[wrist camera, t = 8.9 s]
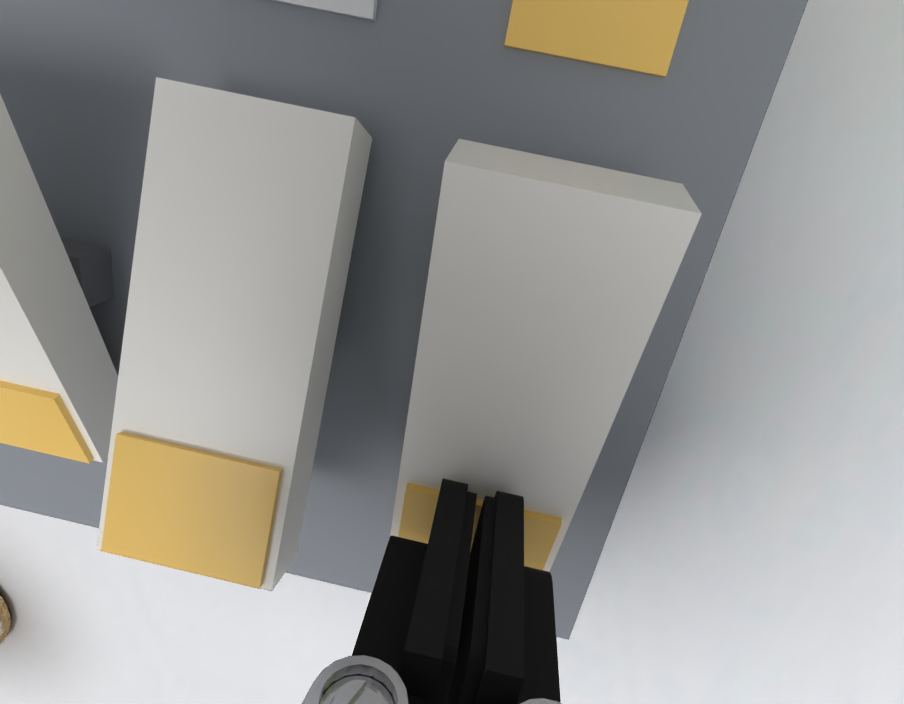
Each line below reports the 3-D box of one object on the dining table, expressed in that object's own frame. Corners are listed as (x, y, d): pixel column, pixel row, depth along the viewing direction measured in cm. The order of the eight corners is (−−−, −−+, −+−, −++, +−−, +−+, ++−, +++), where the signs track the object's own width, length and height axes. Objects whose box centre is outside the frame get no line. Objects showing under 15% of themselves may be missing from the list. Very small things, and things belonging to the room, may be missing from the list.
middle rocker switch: (197, 101, 11) (150, 74, 10) (372, 137, 11) (352, 115, 9) (140, 519, 12) (90, 553, 11) (296, 555, 12) (268, 595, 11)
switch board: (-44, -141, 12) (-234, -230, 9) (759, 10, 12) (845, -31, 9) (35, 453, 19) (-63, 519, 16) (563, 576, 18) (571, 671, 15)
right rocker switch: (458, 138, 9) (443, 164, 8) (682, 183, 9) (704, 217, 8) (400, 508, 14) (385, 561, 13) (542, 540, 14) (541, 597, 13)
